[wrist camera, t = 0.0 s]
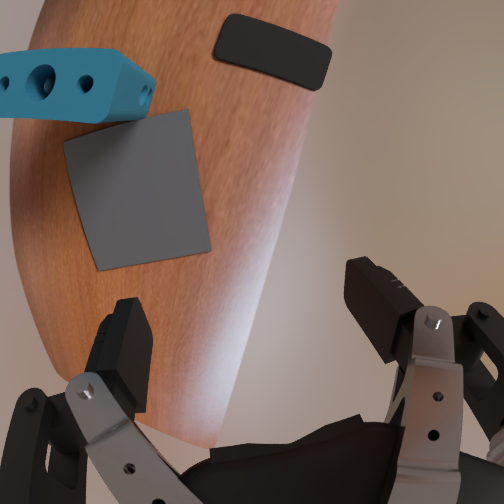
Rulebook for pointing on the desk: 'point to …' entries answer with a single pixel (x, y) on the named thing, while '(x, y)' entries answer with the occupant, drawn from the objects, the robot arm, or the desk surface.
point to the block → (74, 85)
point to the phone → (273, 51)
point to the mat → (139, 191)
